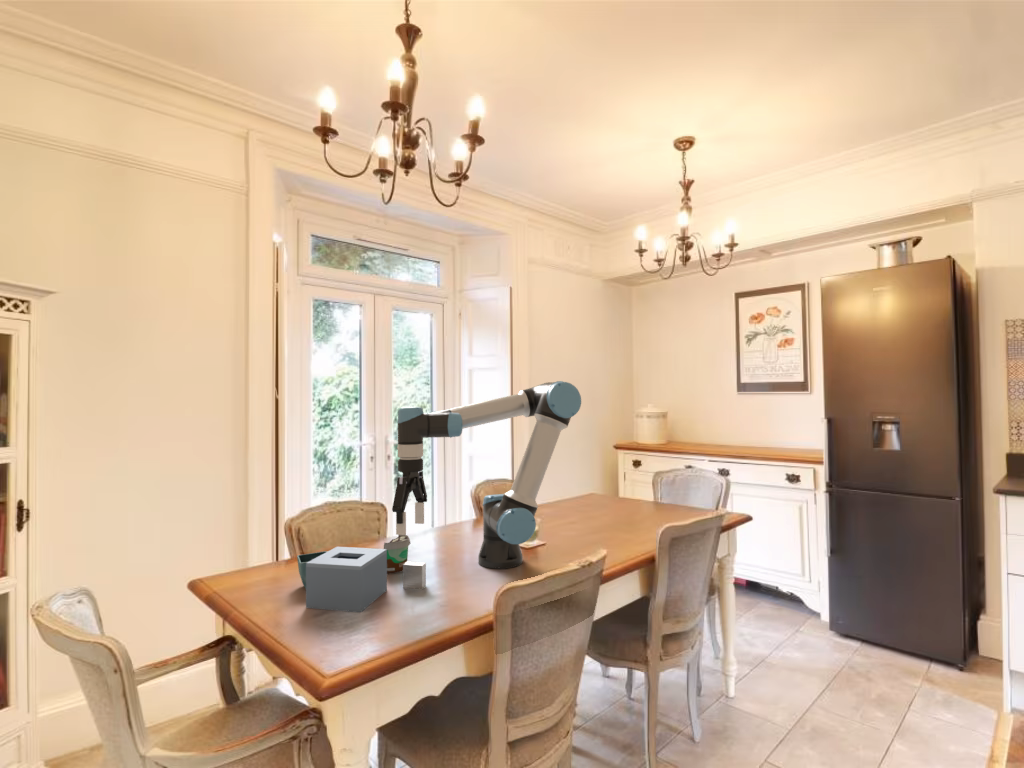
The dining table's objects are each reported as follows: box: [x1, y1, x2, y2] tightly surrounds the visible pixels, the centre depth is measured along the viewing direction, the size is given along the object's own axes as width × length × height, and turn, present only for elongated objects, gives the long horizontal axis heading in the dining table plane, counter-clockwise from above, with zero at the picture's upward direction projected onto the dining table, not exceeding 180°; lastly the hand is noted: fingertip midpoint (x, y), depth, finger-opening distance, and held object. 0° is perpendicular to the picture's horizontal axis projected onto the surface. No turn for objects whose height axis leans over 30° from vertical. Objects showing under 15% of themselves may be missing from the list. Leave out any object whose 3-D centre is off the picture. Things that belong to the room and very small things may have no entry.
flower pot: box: [296, 550, 328, 590], centre depth 158 cm, size 9×9×9 cm
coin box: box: [305, 546, 388, 613], centre depth 149 cm, size 16×16×12 cm
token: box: [402, 561, 427, 591], centre depth 157 cm, size 6×3×7 cm, turn 79°
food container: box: [383, 534, 411, 574], centre depth 174 cm, size 12×6×10 cm, turn 168°
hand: (410, 528), depth 159 cm, fingers open, 13 cm apart
